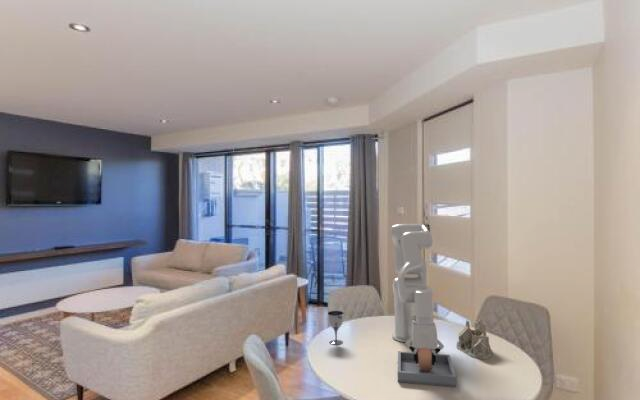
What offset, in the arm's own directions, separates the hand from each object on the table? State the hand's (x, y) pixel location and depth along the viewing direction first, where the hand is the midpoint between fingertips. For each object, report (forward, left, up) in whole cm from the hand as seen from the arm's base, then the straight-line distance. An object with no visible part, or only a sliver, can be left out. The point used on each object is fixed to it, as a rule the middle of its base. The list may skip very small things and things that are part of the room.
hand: (424, 362), depth 151 cm
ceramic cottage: (-26, +24, -5) cm, 36 cm away
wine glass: (-25, -42, -4) cm, 49 cm away
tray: (0, 0, -4) cm, 4 cm away
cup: (0, 0, -2) cm, 2 cm away
